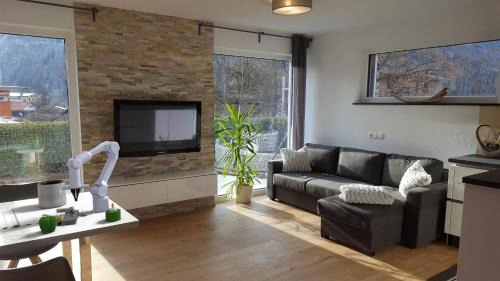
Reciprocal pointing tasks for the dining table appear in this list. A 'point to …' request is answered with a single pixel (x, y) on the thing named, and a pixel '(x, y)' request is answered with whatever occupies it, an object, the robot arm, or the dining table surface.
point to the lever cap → (60, 218)
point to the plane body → (70, 217)
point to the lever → (65, 210)
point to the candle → (113, 214)
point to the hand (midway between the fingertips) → (76, 201)
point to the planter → (51, 193)
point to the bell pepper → (47, 223)
